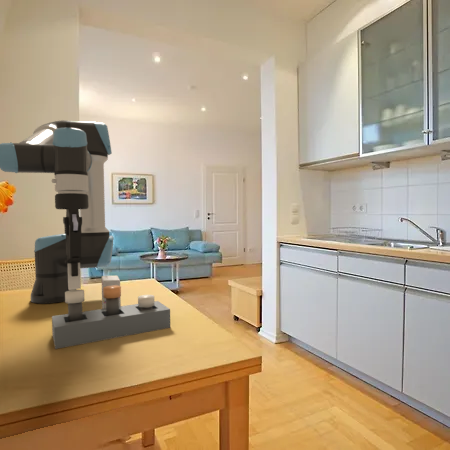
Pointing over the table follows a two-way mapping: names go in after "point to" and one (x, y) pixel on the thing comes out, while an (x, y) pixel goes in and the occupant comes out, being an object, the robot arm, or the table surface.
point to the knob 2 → (146, 302)
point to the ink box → (109, 282)
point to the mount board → (108, 324)
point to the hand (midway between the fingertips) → (74, 288)
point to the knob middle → (112, 299)
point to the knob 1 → (74, 304)
